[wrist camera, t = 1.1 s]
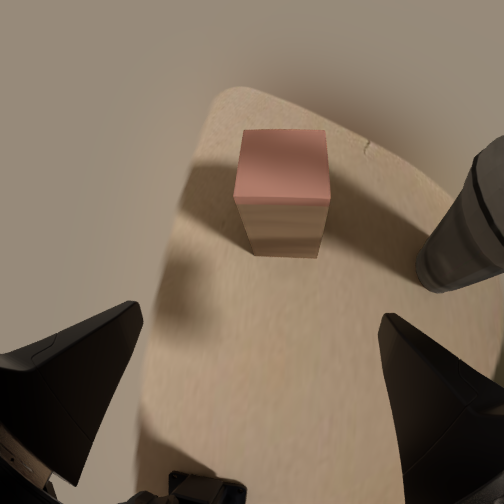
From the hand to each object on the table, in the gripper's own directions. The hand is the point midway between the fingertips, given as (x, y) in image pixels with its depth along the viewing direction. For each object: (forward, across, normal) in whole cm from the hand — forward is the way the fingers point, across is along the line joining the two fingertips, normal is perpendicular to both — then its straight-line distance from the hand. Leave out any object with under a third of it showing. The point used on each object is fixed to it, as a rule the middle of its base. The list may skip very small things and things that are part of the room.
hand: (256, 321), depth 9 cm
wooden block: (+14, -1, +1) cm, 15 cm away
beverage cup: (+12, -14, +4) cm, 19 cm away
